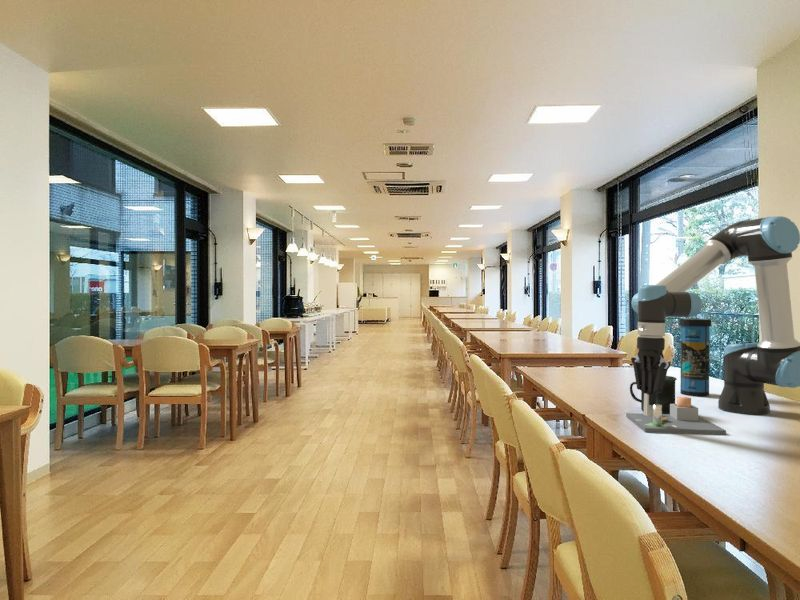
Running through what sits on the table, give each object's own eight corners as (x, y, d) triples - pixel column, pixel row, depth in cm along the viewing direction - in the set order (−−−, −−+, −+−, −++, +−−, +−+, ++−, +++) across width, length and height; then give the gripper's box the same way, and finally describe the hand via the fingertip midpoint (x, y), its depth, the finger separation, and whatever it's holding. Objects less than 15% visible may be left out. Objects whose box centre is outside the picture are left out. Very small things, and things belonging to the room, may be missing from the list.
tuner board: (697, 418, 176) (697, 403, 176) (726, 434, 156) (726, 417, 156) (626, 416, 179) (626, 401, 179) (645, 432, 159) (645, 415, 159)
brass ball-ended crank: (657, 418, 170) (657, 399, 170) (669, 419, 169) (669, 400, 168) (650, 425, 162) (650, 404, 162) (662, 426, 160) (662, 406, 160)
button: (688, 412, 174) (688, 396, 174) (693, 415, 170) (693, 399, 170) (674, 412, 174) (674, 396, 174) (679, 415, 170) (679, 398, 170)
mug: (675, 417, 178) (675, 380, 178) (627, 412, 186) (627, 377, 186) (677, 411, 188) (677, 376, 187) (631, 406, 195) (631, 373, 195)
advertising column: (672, 392, 222) (672, 318, 222) (694, 391, 226) (694, 318, 225) (694, 397, 212) (695, 320, 211) (717, 395, 215) (718, 319, 215)
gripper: (624, 334, 168) (622, 411, 169) (659, 338, 156) (656, 421, 157) (643, 334, 171) (641, 409, 172) (678, 338, 159) (675, 419, 160)
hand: (648, 415), depth 164 cm, fingers closed
